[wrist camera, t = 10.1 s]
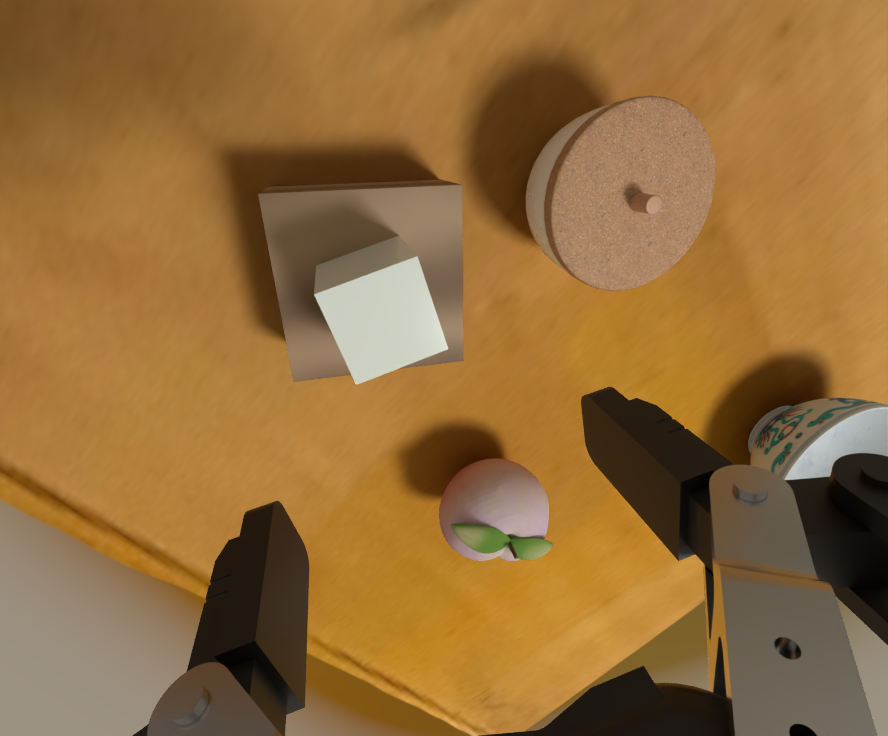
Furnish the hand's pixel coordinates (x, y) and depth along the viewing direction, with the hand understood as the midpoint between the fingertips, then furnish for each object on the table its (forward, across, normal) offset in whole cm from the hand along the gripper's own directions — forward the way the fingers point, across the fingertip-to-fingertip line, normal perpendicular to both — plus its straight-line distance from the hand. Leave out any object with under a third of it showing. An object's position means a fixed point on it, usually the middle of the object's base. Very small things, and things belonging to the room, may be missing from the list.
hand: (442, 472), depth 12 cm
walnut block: (+24, 0, 0) cm, 24 cm away
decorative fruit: (+23, -4, +21) cm, 32 cm away
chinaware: (+23, -37, +30) cm, 53 cm away
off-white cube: (+18, 0, 0) cm, 18 cm away
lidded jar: (+24, -16, -1) cm, 28 cm away
